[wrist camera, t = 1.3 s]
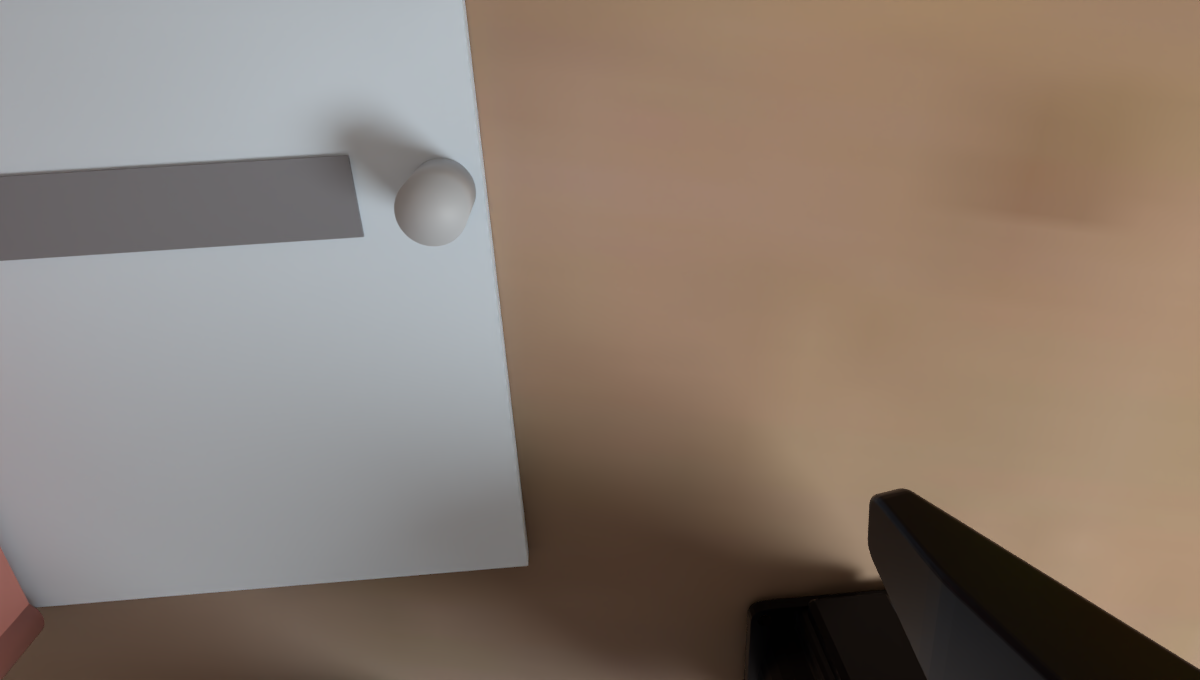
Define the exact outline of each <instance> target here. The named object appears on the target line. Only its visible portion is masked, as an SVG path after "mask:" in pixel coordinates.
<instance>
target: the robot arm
mask: <svg viewBox="0 0 1200 680" xmlns="http://www.w3.org/2000/svg"><path fill="white" fill-rule="evenodd" d="M868 546H869V551H870V554H871V557H872V560H873V562H874V564H875V567H876V569H877V571H878V573H879V575H880V578H881V580H882V582H883V584H884V586H885V588H886V590H878V591H867V592H855V593H844V594H832V595H821V596H810V597H798V598H787V599H776V600H764V601H759V602H756V603H754V604H753V605H752V606H751V607H750V608H749V610H748V614H747V634H746V654H745V674H744V680H1200V669H1198V668H1197V667H1195V666H1193V665H1192V664H1190V663H1188V662H1187V661H1185V660H1184V659H1182V658H1180V657H1179V656H1177V655H1176V654H1174V653H1172V652H1171V651H1169V650H1167V649H1166V648H1164V647H1163V646H1161V645H1159V644H1158V643H1156V642H1155V641H1153V640H1151V639H1150V638H1148V637H1146V636H1145V635H1143V634H1142V633H1140V632H1138V631H1137V630H1135V629H1134V628H1132V627H1130V626H1129V625H1127V624H1125V623H1124V622H1122V621H1121V620H1119V619H1117V618H1116V617H1114V616H1113V615H1111V614H1109V613H1108V612H1106V611H1104V610H1103V609H1101V608H1100V607H1098V606H1096V605H1095V604H1093V603H1092V602H1090V601H1088V600H1087V599H1085V598H1083V597H1082V596H1080V595H1079V594H1077V593H1075V592H1074V591H1072V590H1070V589H1069V588H1067V587H1066V586H1064V585H1062V584H1061V583H1059V582H1058V581H1056V580H1054V579H1053V578H1051V577H1049V576H1048V575H1046V574H1045V573H1043V572H1041V571H1040V570H1038V569H1037V568H1035V567H1033V566H1032V565H1030V564H1028V563H1027V562H1025V561H1024V560H1022V559H1020V558H1019V557H1017V556H1016V555H1014V554H1012V553H1011V552H1009V551H1007V550H1006V549H1004V548H1003V547H1001V546H999V545H998V544H996V543H995V542H993V541H991V540H990V539H988V538H986V537H985V536H983V535H982V534H980V533H978V532H977V531H975V530H974V529H972V528H970V527H969V526H967V525H965V524H964V523H962V522H961V521H959V520H957V519H956V518H954V517H953V516H951V515H949V514H948V513H946V512H944V511H943V510H941V509H940V508H938V507H936V506H935V505H933V504H932V503H930V502H928V501H927V500H925V499H923V498H922V497H920V496H919V495H917V494H915V493H914V492H912V491H910V490H907V489H896V490H892V491H888V492H884V493H880V494H876V495H874V496H873V497H872V498H871V500H870V504H869V525H868ZM763 615H766V616H764V617H761V616H763Z"/></svg>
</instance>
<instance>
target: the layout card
mask: <svg viewBox="0 0 1200 680" xmlns="http://www.w3.org/2000/svg"><path fill="white" fill-rule="evenodd" d="M0 547H1V549H2V551H3V553H4V555H5V557H6V559H7V561H8V563H9V565H10V567H11V569H12V571H13V573H14V575H15V577H16V579H17V581H18V583H19V585H20V587H21V589H22V590H23V592H24V594H25V596H26V598H27V600H28V602H29V604H31V605H32V606H34V607H35V608H36V607H48V606H60V605H71V604H83V603H95V602H107V601H119V600H130V599H142V598H154V597H166V596H178V595H189V594H201V593H213V592H225V591H236V590H248V589H260V588H272V587H284V586H295V585H307V584H319V583H331V582H343V581H354V580H366V579H378V578H390V577H402V576H413V575H425V574H437V573H449V572H461V571H472V570H484V569H496V568H508V567H520V566H528V557H529V552H528V543H527V534H526V526H525V517H524V508H523V500H522V491H521V482H520V474H519V465H518V457H517V448H516V439H515V431H514V422H513V413H512V405H511V396H510V387H509V379H508V370H507V362H506V353H505V344H504V336H503V327H502V318H501V310H500V301H499V292H498V284H497V275H496V267H495V258H494V249H493V241H492V232H491V223H490V215H489V206H488V197H487V189H486V180H485V172H484V163H483V154H482V146H481V137H480V128H479V120H478V111H477V102H476V94H475V85H474V77H473V68H472V59H471V51H470V42H469V33H468V25H467V16H466V7H465V0H0Z"/></svg>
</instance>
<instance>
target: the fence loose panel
mask: <svg viewBox="0 0 1200 680" xmlns="http://www.w3.org/2000/svg"><path fill="white" fill-rule="evenodd" d="M43 627H44V618H43V616H42V614H41V613H40V612H39V611H38V610H37V609H36V608H35V607H34V606H32V605H31V604H29V602H28V600H27V598H26V596H25V594H24V592H23V590H22V589H21V587H20V585H19V583H18V581H17V579H16V577H15V575H14V573H13V571H12V569H11V567H10V565H9V563H8V561H7V559H6V557H5V555H4V553H3V551H2V549H1V547H0V680H2V679H3V677H4V676H5V675H6V674H7V672H8V671H9V670H10V669H11V668H12V666H13V665H14V664H15V663H16V661H17V660H18V659H19V658H20V657H21V655H22V654H23V653H24V652H25V650H26V649H27V648H28V647H29V646H30V644H31V643H32V642H33V641H34V639H35V638H36V637H37V636H38V635H39V633H40V632H41V631H42V629H43Z"/></svg>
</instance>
